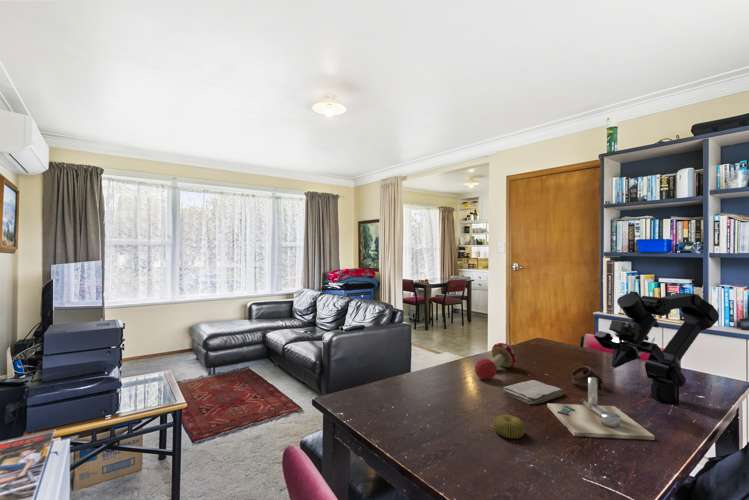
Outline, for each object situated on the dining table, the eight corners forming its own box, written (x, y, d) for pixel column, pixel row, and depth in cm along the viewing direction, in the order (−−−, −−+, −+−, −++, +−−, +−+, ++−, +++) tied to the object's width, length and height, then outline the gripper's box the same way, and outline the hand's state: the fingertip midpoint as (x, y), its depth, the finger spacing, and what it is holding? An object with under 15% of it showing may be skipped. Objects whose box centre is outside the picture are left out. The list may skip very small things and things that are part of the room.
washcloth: (500, 394, 124) (500, 385, 124) (533, 385, 133) (533, 376, 133) (531, 407, 113) (531, 397, 113) (564, 396, 123) (564, 387, 123)
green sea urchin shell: (519, 429, 91) (488, 419, 96) (519, 445, 91) (488, 434, 96) (529, 417, 97) (499, 409, 102) (529, 432, 97) (499, 423, 102)
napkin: (614, 409, 111) (614, 405, 111) (654, 439, 93) (654, 434, 93) (547, 406, 113) (547, 402, 113) (574, 436, 95) (574, 431, 95)
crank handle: (623, 427, 97) (623, 391, 97) (607, 427, 97) (607, 391, 97) (592, 405, 111) (593, 374, 111) (578, 405, 111) (578, 374, 111)
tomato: (492, 360, 133) (483, 350, 140) (475, 372, 133) (467, 362, 140) (503, 375, 134) (494, 364, 142) (486, 387, 134) (478, 376, 142)
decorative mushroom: (488, 352, 142) (509, 334, 150) (472, 360, 151) (493, 343, 159) (506, 377, 139) (527, 357, 147) (489, 384, 148) (509, 365, 156)
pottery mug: (607, 395, 123) (595, 374, 123) (579, 401, 128) (567, 381, 129) (605, 376, 133) (593, 357, 134) (578, 382, 138) (567, 364, 139)
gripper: (598, 306, 121) (573, 342, 117) (658, 316, 103) (631, 358, 99) (614, 328, 124) (590, 364, 120) (676, 341, 106) (650, 383, 102)
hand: (613, 366), depth 110 cm, fingers closed
